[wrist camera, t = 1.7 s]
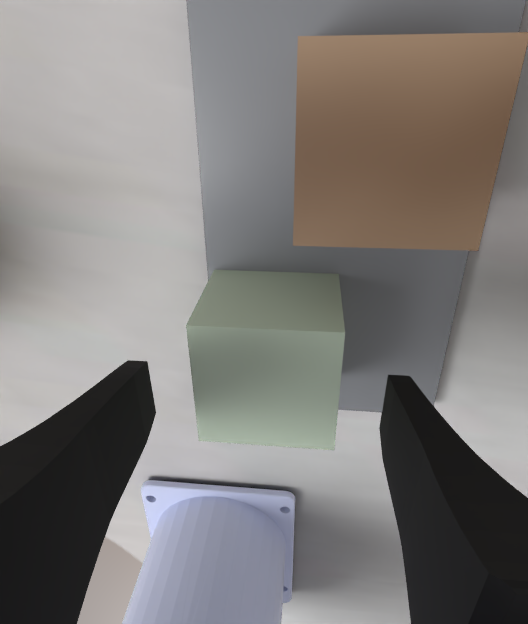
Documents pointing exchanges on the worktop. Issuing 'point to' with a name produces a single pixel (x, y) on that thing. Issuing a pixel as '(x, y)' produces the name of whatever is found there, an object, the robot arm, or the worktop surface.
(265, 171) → the baseplate
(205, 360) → the green block
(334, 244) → the walnut block
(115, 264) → the worktop surface
